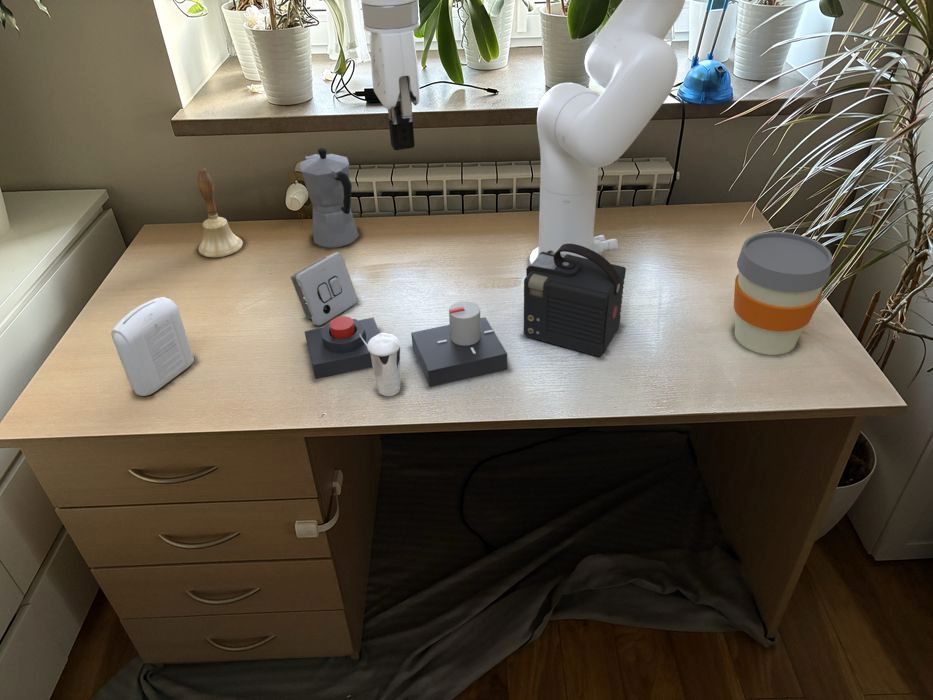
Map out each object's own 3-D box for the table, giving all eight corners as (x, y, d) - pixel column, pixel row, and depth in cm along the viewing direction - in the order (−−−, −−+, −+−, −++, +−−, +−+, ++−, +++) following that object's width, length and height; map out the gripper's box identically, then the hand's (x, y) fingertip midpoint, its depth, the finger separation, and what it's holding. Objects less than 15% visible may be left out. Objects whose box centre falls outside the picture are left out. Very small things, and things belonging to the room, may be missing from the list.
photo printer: (179, 353, 117) (157, 286, 109) (199, 361, 115) (178, 293, 108) (127, 392, 110) (99, 323, 102) (148, 400, 108) (121, 331, 100)
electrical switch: (318, 329, 121) (305, 278, 116) (297, 320, 124) (284, 271, 119) (359, 303, 127) (348, 253, 121) (338, 295, 129) (327, 247, 124)
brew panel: (485, 331, 119) (484, 314, 117) (507, 369, 111) (507, 352, 109) (411, 346, 116) (410, 330, 114) (429, 387, 108) (427, 370, 106)
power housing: (375, 330, 120) (372, 307, 117) (387, 363, 113) (384, 339, 110) (307, 344, 117) (302, 321, 115) (315, 379, 111) (310, 355, 108)
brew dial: (475, 325, 115) (474, 296, 112) (485, 342, 111) (484, 312, 108) (446, 331, 114) (444, 302, 111) (455, 348, 110) (454, 319, 107)
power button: (352, 323, 114) (351, 314, 113) (357, 336, 112) (355, 327, 111) (329, 328, 114) (327, 318, 113) (333, 341, 111) (331, 332, 110)
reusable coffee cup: (808, 369, 108) (835, 281, 99) (718, 353, 112) (737, 267, 103) (808, 321, 118) (833, 237, 109) (726, 308, 121) (743, 226, 112)
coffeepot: (298, 232, 147) (281, 144, 136) (340, 217, 152) (327, 131, 141) (336, 262, 137) (321, 170, 126) (380, 246, 142) (369, 156, 131)
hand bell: (235, 232, 148) (216, 156, 138) (248, 249, 142) (229, 171, 133) (193, 244, 145) (171, 167, 135) (205, 262, 139) (183, 182, 129)
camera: (544, 302, 125) (547, 221, 116) (624, 322, 119) (634, 239, 110) (517, 337, 117) (517, 253, 108) (602, 360, 112) (610, 274, 103)
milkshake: (368, 380, 110) (360, 325, 104) (404, 378, 110) (398, 322, 104) (367, 401, 106) (359, 345, 100) (405, 398, 106) (399, 342, 100)
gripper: (352, 5, 104) (368, 133, 115) (374, 31, 93) (389, 170, 104) (405, -1, 106) (415, 126, 117) (433, 24, 94) (441, 162, 105)
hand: (403, 146), depth 110 cm, fingers closed
